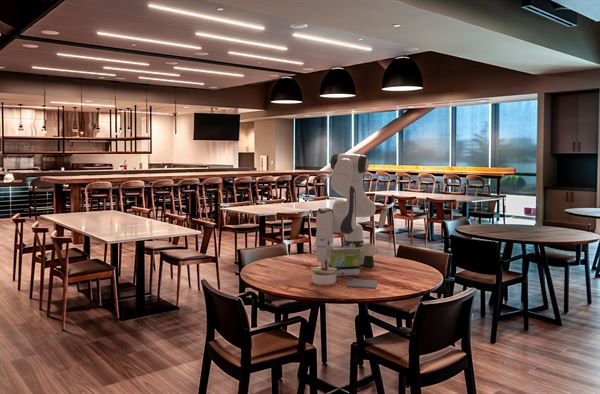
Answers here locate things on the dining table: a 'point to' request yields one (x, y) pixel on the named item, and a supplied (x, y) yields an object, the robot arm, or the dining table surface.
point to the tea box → (345, 260)
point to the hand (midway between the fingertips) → (324, 266)
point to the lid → (324, 269)
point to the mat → (362, 283)
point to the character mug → (368, 254)
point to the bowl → (324, 278)
